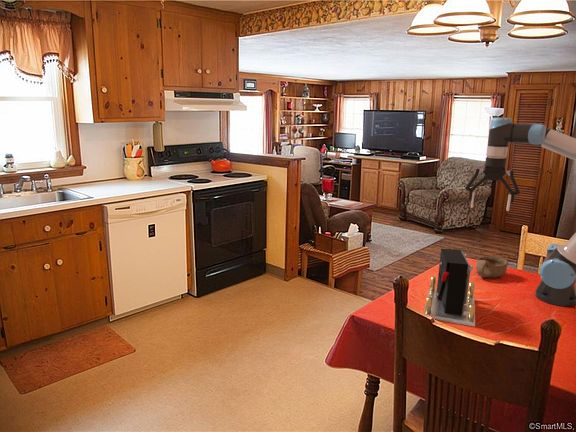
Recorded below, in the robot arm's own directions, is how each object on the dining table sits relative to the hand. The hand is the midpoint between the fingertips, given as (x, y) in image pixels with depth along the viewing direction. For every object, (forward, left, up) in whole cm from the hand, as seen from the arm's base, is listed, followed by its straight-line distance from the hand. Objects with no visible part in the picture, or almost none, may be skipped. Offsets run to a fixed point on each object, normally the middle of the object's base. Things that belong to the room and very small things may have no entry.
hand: (489, 209), depth 185 cm
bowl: (-5, -23, -37) cm, 44 cm away
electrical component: (+11, +22, -35) cm, 43 cm away
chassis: (+11, +22, -37) cm, 44 cm away
